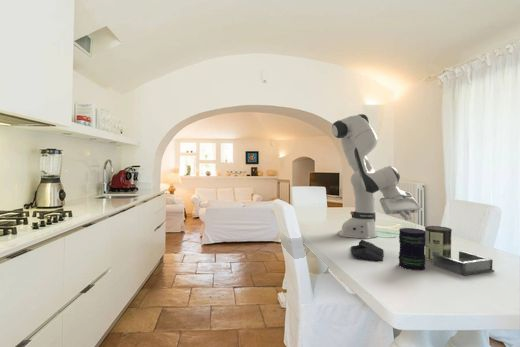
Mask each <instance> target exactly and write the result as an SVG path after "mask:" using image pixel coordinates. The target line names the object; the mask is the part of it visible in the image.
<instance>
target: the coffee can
mask: <svg viewBox="0 0 520 347" xmlns="http://www.w3.org/2000/svg"><path fill="white" fill-rule="evenodd" d="M424 231H426V234H425V235H426V237H425V238H426V241H425V243H426V244H425V261H428V262H431V263H432V262H433V259H434V254H439V255H442V256H445V257H448V258H451V259H452V231H453V230H452V228H450V227H446V226H440V225H439V226H437V225H427V226H424Z"/></svg>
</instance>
